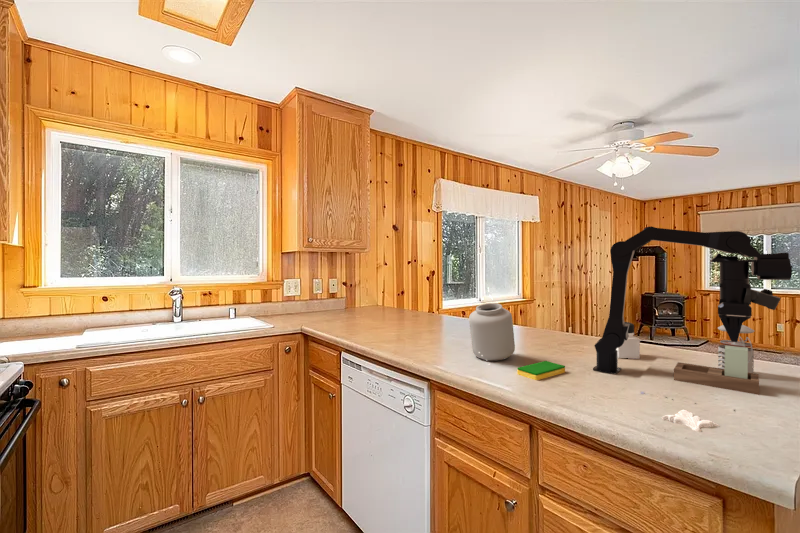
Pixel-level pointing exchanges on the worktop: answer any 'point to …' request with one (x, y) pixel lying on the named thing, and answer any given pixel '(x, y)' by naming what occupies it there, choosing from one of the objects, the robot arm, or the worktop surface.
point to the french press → (738, 344)
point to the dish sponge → (541, 370)
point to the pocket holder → (715, 378)
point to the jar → (492, 332)
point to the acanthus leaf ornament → (689, 420)
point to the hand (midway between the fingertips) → (734, 338)
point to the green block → (736, 361)
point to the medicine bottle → (630, 345)
